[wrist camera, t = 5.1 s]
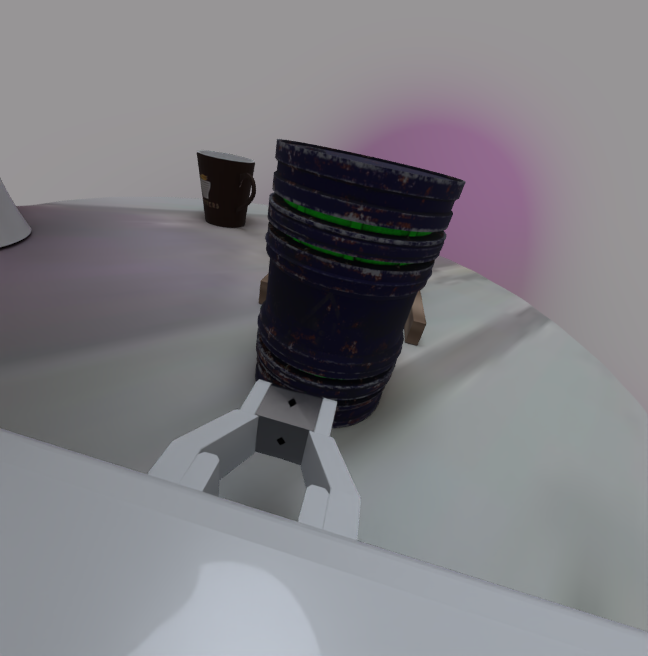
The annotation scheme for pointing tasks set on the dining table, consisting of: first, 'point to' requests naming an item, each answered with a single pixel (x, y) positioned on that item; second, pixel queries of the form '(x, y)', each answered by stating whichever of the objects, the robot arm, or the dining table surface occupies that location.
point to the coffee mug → (226, 187)
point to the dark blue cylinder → (345, 270)
